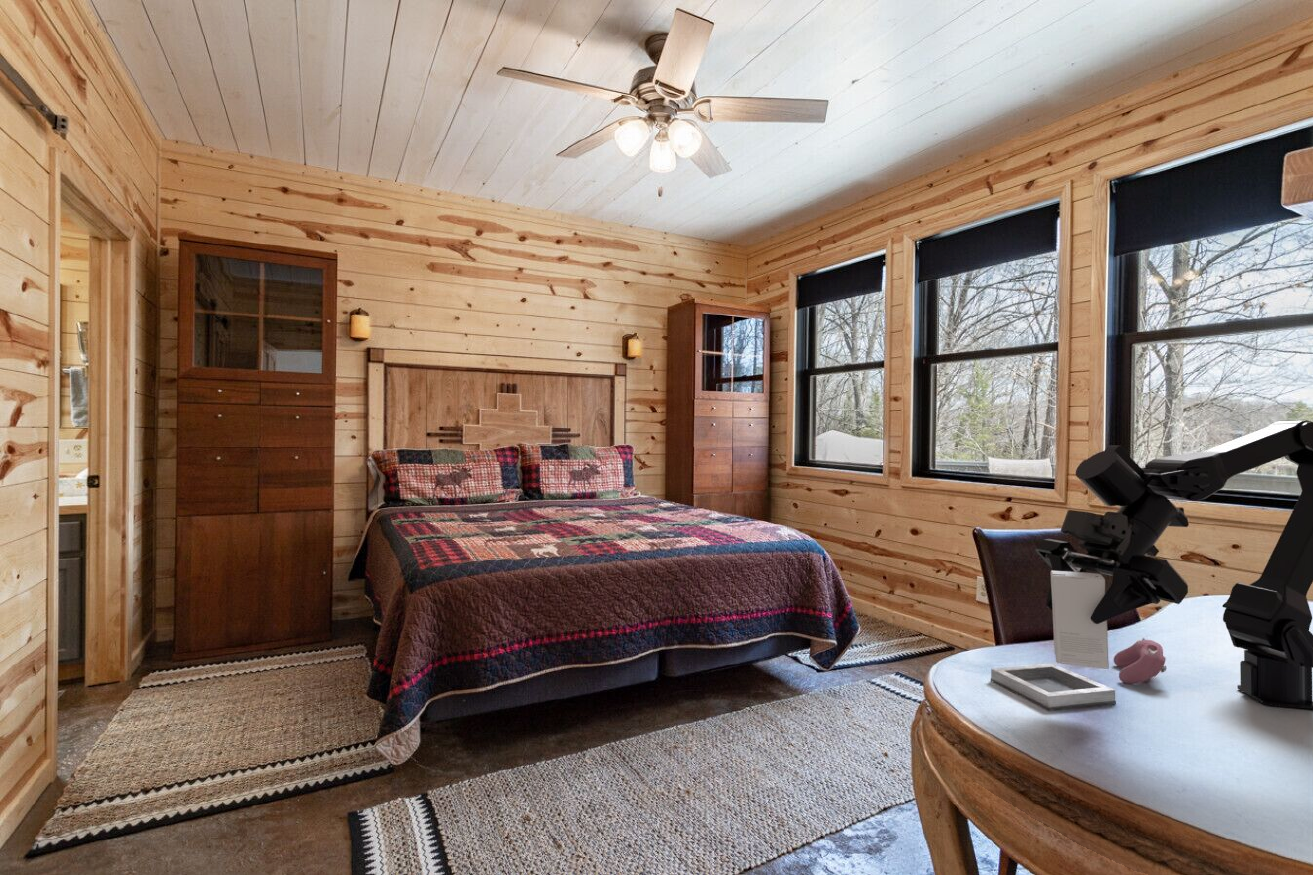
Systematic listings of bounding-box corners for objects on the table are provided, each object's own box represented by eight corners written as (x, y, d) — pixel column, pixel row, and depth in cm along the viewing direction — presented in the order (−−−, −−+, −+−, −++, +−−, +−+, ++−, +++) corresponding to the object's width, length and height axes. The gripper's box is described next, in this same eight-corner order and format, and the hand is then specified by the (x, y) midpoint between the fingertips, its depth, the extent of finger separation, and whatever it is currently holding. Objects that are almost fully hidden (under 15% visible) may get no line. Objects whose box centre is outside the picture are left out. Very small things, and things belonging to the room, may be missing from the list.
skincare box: (1104, 661, 87) (1103, 572, 87) (1110, 671, 83) (1107, 578, 83) (1051, 654, 90) (1050, 568, 90) (1054, 664, 86) (1052, 574, 86)
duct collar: (1052, 675, 100) (1051, 663, 100) (1116, 703, 89) (1115, 689, 89) (990, 680, 97) (990, 668, 97) (1048, 710, 87) (1048, 696, 87)
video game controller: (1150, 699, 94) (1177, 660, 93) (1116, 679, 96) (1141, 641, 95) (1141, 677, 103) (1165, 642, 101) (1110, 660, 105) (1133, 625, 103)
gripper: (1044, 485, 96) (983, 562, 94) (1168, 494, 78) (1096, 590, 76) (1088, 534, 98) (1029, 611, 96) (1219, 555, 80) (1150, 651, 77)
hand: (1069, 614), depth 86 cm, fingers closed on skincare box, 7 cm apart
